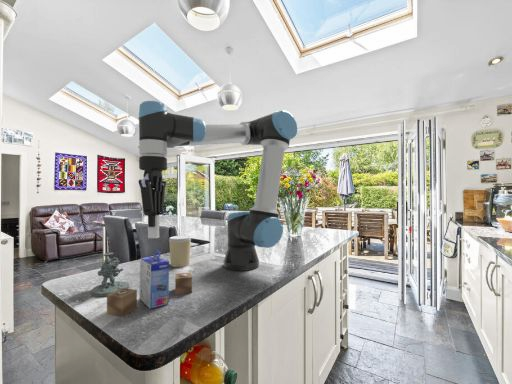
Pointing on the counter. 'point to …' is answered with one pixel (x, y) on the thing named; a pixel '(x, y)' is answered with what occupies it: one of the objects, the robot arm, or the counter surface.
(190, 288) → the walnut cube
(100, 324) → the counter surface
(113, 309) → the walnut cube
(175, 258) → the coffee cup
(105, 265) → the figurine
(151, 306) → the ink cartridge box
